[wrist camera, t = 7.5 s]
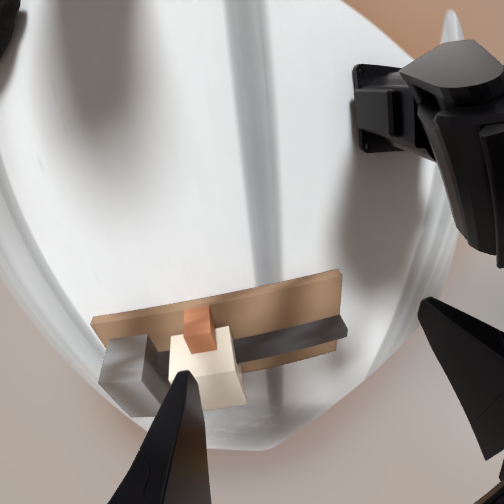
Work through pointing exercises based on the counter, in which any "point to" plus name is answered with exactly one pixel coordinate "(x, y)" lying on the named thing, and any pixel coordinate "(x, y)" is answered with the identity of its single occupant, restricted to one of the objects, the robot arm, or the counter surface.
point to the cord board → (240, 315)
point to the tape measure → (7, 20)
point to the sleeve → (211, 370)
